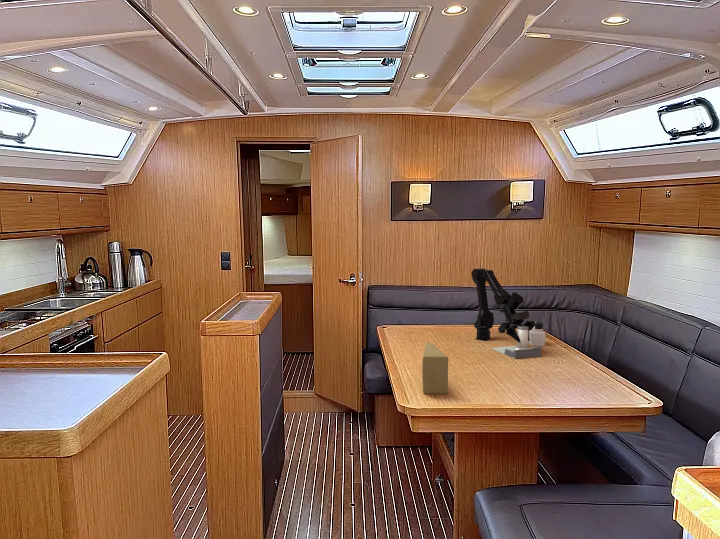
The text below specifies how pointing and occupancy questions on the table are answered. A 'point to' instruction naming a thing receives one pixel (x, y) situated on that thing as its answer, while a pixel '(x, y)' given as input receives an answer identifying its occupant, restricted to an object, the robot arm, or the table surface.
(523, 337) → the grey capped tube
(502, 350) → the sage mat
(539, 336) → the medicine bottle
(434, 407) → the table surface
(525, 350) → the dispenser rack
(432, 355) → the cheese
